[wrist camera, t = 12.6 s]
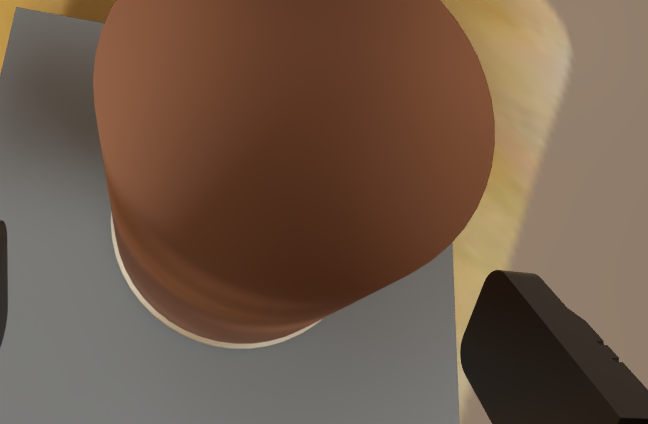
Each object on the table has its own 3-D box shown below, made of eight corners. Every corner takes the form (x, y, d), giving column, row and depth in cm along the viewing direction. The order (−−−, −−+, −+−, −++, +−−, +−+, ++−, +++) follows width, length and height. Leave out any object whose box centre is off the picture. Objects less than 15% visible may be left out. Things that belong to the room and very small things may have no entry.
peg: (102, 353, 16) (48, 280, 7) (132, 147, 18) (121, -124, 9) (320, 365, 18) (513, 317, 9) (326, 173, 20) (487, -35, 11)
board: (-34, 420, 15) (-80, 423, 12) (38, 76, 19) (16, 6, 15) (404, 432, 18) (460, 436, 15) (400, 134, 22) (446, 86, 18)
